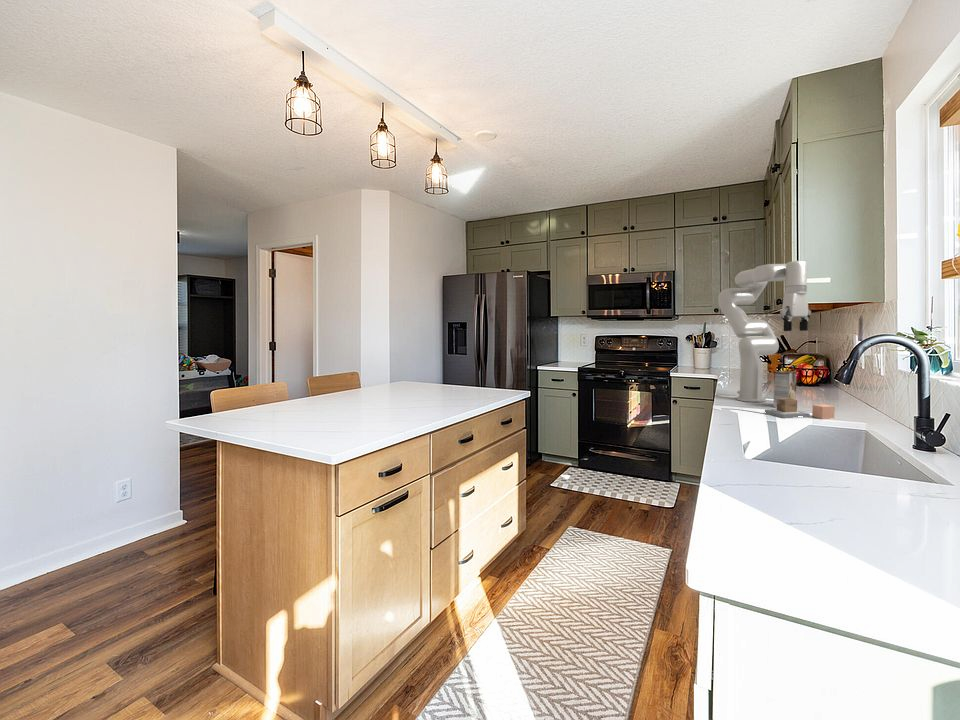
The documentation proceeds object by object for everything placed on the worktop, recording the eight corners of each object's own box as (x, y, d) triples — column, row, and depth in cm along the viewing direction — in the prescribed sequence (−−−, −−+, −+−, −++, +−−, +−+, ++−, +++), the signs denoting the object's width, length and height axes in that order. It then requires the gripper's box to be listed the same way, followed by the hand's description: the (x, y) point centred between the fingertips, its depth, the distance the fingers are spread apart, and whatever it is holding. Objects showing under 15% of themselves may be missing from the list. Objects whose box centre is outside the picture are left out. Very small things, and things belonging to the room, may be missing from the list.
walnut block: (776, 410, 193) (776, 398, 192) (788, 409, 193) (788, 398, 192) (785, 412, 188) (785, 400, 187) (796, 412, 188) (797, 400, 187)
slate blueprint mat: (764, 413, 195) (764, 409, 195) (789, 412, 196) (789, 408, 196) (783, 418, 184) (783, 414, 184) (809, 417, 185) (809, 413, 185)
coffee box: (780, 404, 213) (781, 370, 212) (796, 406, 208) (797, 371, 207) (772, 407, 208) (773, 372, 206) (789, 409, 203) (790, 373, 201)
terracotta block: (812, 416, 186) (812, 404, 186) (824, 416, 187) (824, 404, 186) (822, 419, 181) (822, 406, 181) (834, 418, 182) (834, 406, 181)
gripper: (801, 291, 202) (801, 330, 203) (773, 291, 196) (772, 331, 197) (818, 289, 195) (818, 330, 196) (790, 289, 189) (790, 330, 190)
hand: (795, 330), depth 196 cm, fingers open, 9 cm apart
